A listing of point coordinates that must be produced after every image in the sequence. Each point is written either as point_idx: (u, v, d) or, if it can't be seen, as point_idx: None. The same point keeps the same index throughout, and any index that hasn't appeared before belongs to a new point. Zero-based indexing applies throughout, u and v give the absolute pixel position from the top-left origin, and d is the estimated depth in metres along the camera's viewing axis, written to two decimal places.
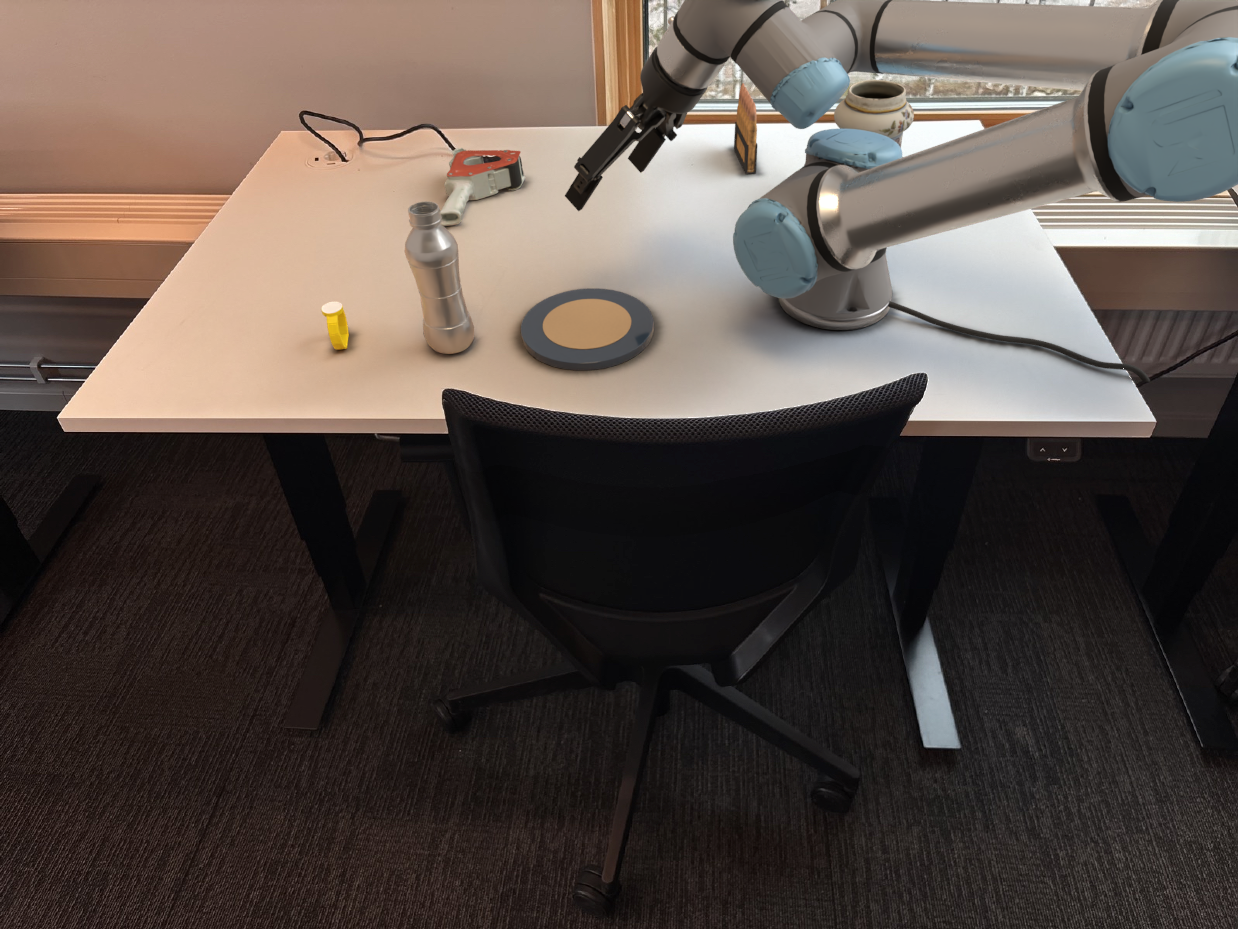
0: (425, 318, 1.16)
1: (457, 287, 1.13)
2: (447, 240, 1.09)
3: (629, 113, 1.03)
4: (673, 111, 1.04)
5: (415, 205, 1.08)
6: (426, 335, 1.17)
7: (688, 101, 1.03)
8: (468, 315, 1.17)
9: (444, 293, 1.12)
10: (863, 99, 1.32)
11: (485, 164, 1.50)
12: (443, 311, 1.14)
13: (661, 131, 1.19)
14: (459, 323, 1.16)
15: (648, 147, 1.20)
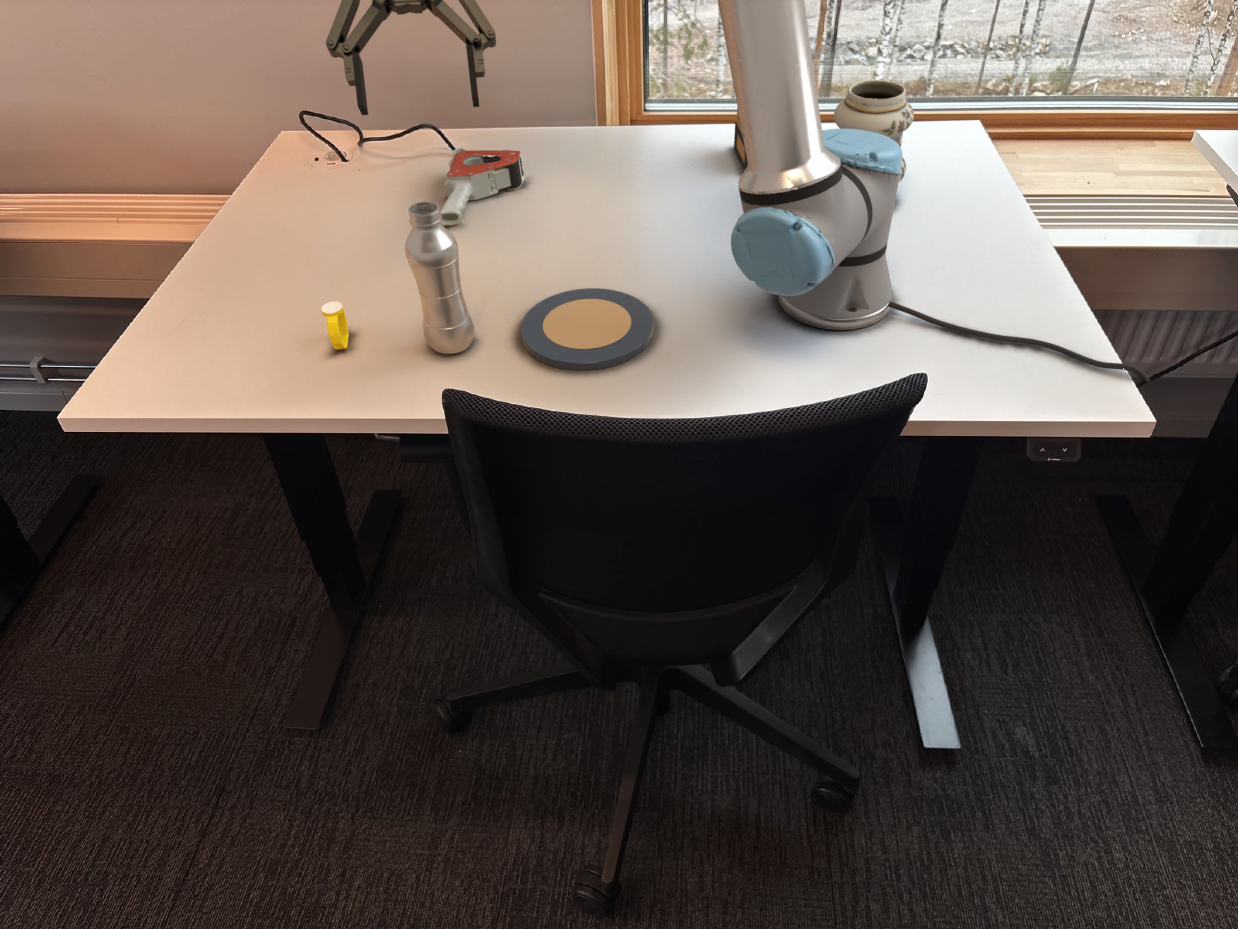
0: (425, 318, 1.16)
1: (457, 287, 1.13)
2: (447, 240, 1.09)
3: None
4: None
5: (415, 205, 1.08)
6: (426, 335, 1.17)
7: None
8: (468, 315, 1.17)
9: (444, 293, 1.12)
10: (863, 99, 1.32)
11: (485, 164, 1.50)
12: (443, 311, 1.14)
13: (472, 46, 1.10)
14: (459, 323, 1.16)
15: None
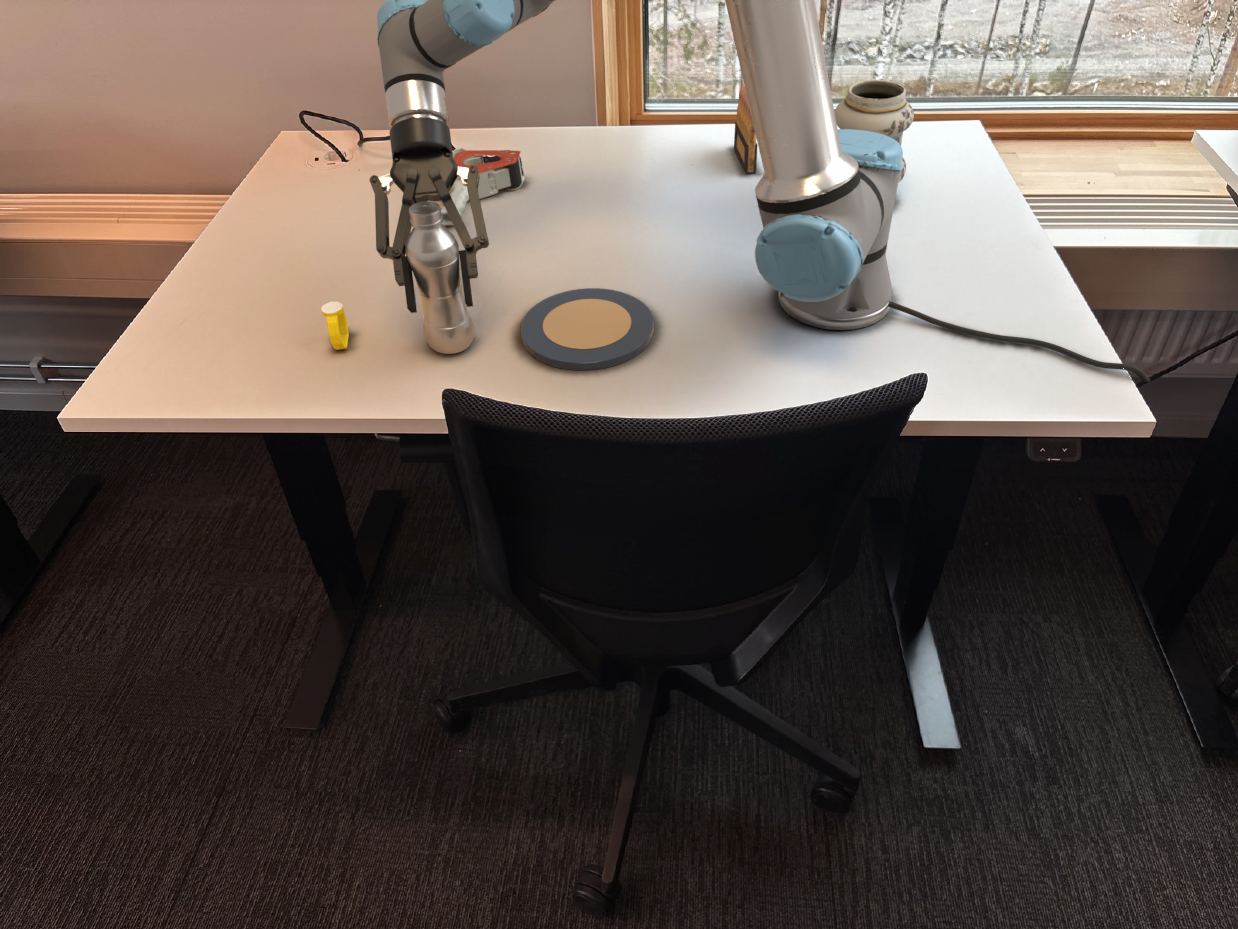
0: (425, 318, 1.16)
1: (457, 287, 1.13)
2: (448, 240, 1.09)
3: None
4: (398, 145, 1.10)
5: (416, 205, 1.08)
6: (426, 335, 1.17)
7: (403, 129, 1.09)
8: (468, 315, 1.17)
9: (444, 293, 1.12)
10: (863, 99, 1.32)
11: (485, 164, 1.50)
12: (443, 311, 1.14)
13: None
14: (460, 323, 1.16)
15: None
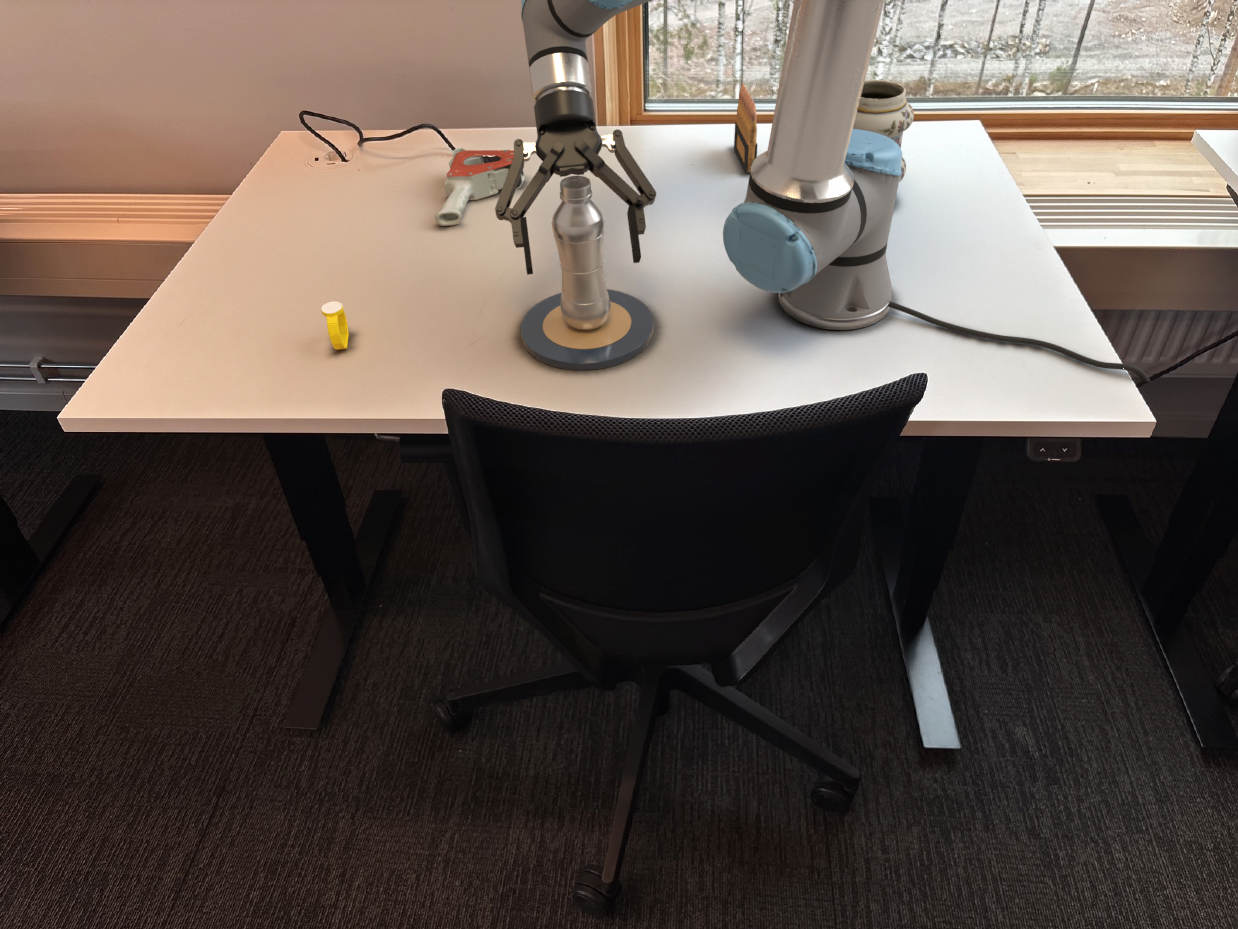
0: (565, 293, 1.16)
1: (600, 262, 1.14)
2: (596, 214, 1.09)
3: None
4: (546, 118, 1.10)
5: (565, 179, 1.08)
6: (565, 311, 1.18)
7: (551, 101, 1.10)
8: (606, 291, 1.18)
9: (589, 268, 1.13)
10: (863, 99, 1.32)
11: (485, 164, 1.50)
12: (586, 286, 1.14)
13: (633, 205, 1.13)
14: (599, 298, 1.16)
15: (630, 228, 1.13)
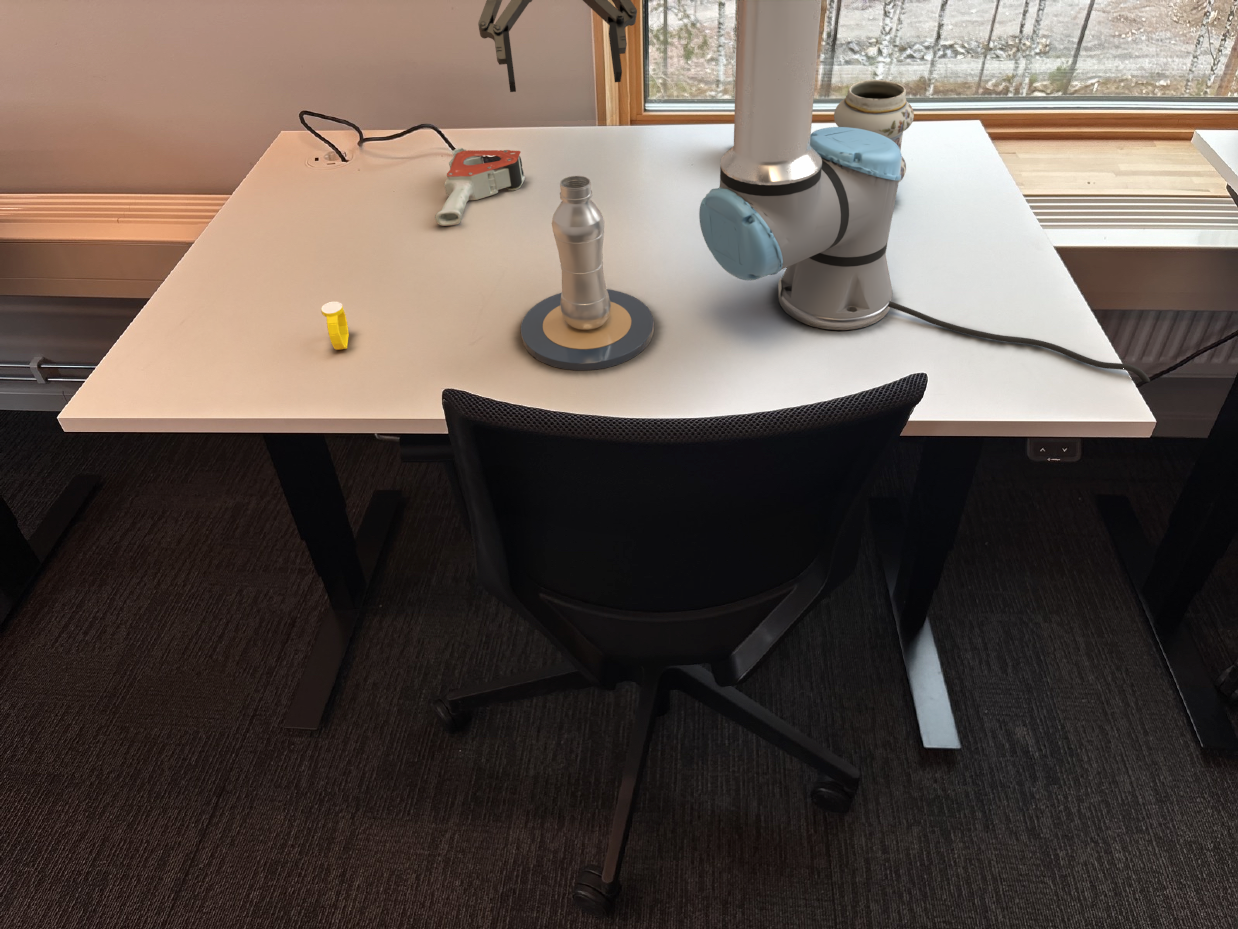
0: (565, 293, 1.16)
1: (600, 262, 1.14)
2: (596, 214, 1.09)
3: None
4: None
5: (565, 179, 1.08)
6: (565, 311, 1.18)
7: None
8: (606, 291, 1.18)
9: (589, 268, 1.13)
10: (863, 99, 1.32)
11: (485, 164, 1.50)
12: (586, 286, 1.14)
13: None
14: (599, 298, 1.16)
15: (611, 45, 1.15)
